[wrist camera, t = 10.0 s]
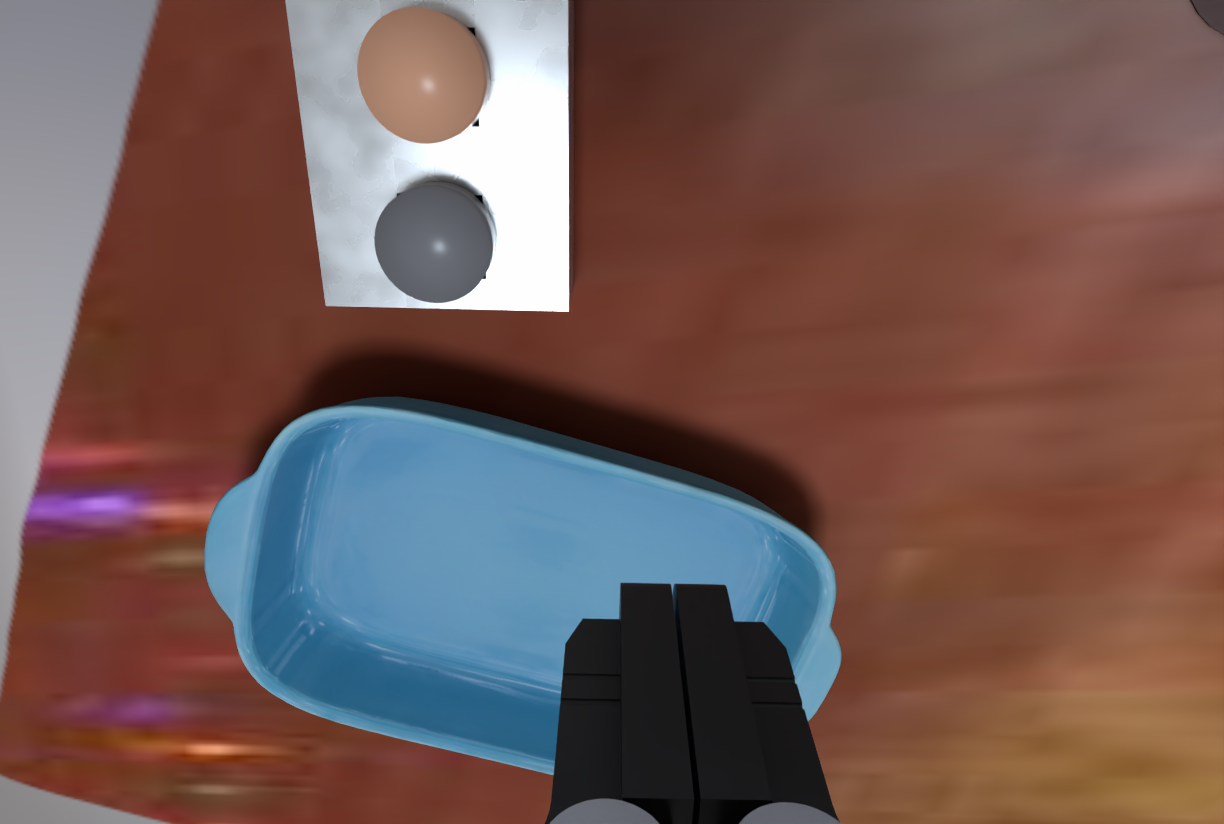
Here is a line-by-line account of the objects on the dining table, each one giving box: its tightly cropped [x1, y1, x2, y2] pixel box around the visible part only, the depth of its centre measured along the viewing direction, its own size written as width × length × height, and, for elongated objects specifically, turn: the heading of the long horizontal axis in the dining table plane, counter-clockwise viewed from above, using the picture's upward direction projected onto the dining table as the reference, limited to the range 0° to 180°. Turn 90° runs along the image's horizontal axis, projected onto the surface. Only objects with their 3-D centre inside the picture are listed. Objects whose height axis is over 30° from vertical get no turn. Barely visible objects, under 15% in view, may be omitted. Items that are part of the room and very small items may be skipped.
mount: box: [285, 0, 574, 311], centre depth 36 cm, size 12×21×5 cm, turn 179°
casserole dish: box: [205, 397, 841, 775], centre depth 47 cm, size 37×22×7 cm, turn 72°
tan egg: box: [357, 7, 491, 144], centre depth 35 cm, size 5×5×7 cm
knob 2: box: [374, 181, 497, 303], centre depth 38 cm, size 5×5×7 cm
